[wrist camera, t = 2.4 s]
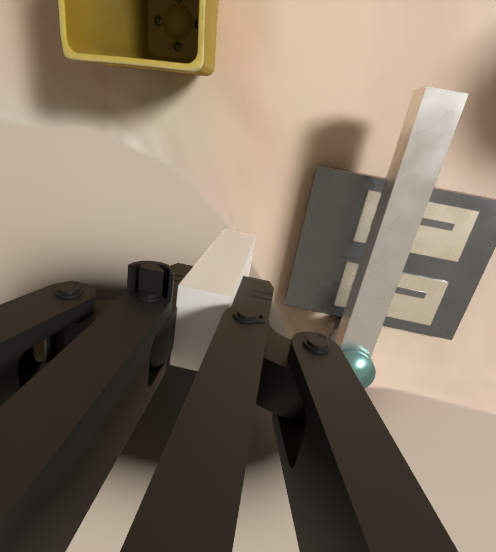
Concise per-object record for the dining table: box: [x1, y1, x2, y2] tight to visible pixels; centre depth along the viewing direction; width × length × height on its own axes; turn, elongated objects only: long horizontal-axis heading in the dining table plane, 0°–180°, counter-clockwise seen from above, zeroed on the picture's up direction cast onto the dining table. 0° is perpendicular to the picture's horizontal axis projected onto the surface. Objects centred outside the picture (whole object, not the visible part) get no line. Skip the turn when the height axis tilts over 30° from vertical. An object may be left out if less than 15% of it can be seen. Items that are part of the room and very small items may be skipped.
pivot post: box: [326, 315, 342, 341], centre depth 34 cm, size 3×3×4 cm
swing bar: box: [334, 86, 468, 389], centre depth 26 cm, size 23×4×3 cm, turn 170°
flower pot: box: [58, 0, 218, 76], centre depth 23 cm, size 9×9×9 cm
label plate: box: [285, 165, 496, 340], centre depth 32 cm, size 16×13×2 cm
